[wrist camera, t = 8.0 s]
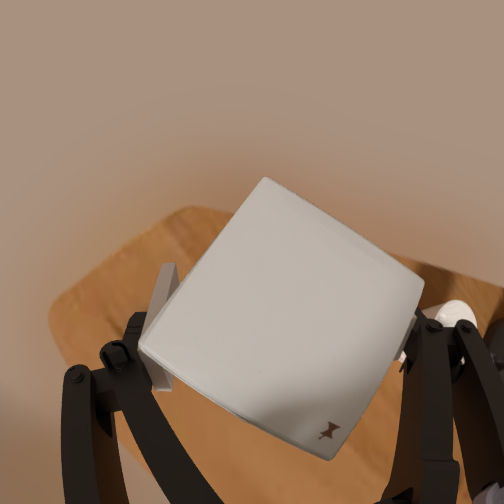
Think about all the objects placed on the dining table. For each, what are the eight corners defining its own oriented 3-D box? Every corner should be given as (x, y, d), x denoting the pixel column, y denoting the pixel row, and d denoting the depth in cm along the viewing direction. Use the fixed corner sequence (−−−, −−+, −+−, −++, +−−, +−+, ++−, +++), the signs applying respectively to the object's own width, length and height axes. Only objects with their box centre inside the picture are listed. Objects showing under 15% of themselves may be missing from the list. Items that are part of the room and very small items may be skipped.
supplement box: (329, 316, 21) (434, 282, 9) (276, 399, 19) (331, 471, 7) (248, 263, 22) (266, 167, 10) (191, 344, 19) (128, 348, 7)
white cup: (424, 305, 34) (471, 292, 25) (433, 357, 32) (481, 356, 22) (381, 319, 33) (425, 309, 24) (390, 375, 31) (436, 382, 22)
